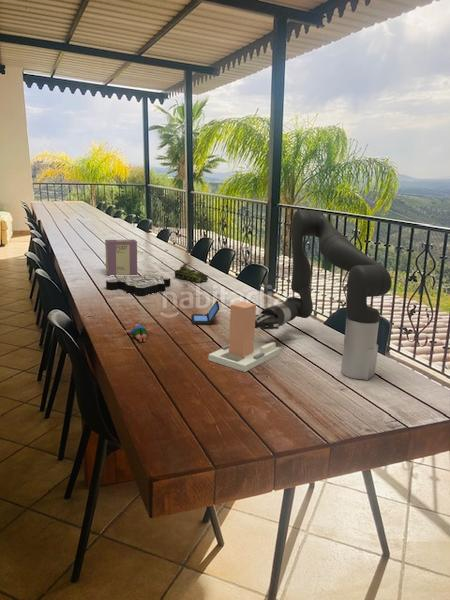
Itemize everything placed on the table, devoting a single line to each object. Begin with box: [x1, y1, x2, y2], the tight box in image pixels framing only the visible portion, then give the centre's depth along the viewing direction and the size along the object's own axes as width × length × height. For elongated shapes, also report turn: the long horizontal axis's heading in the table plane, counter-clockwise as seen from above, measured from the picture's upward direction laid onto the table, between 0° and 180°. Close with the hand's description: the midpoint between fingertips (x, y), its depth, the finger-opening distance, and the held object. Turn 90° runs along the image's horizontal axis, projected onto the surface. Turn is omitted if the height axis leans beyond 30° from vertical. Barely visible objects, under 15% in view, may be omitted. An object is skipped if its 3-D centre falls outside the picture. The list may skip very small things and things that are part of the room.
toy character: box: [120, 321, 156, 343], centre depth 166 cm, size 12×5×15 cm
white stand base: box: [208, 340, 282, 373], centre depth 150 cm, size 14×21×4 cm, turn 143°
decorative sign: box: [105, 274, 171, 297], centre depth 240 cm, size 28×4×30 cm
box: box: [104, 239, 138, 277], centre depth 269 cm, size 17×9×20 cm, turn 111°
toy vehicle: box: [174, 262, 209, 283], centre depth 264 cm, size 9×20×10 cm, turn 51°
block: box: [228, 301, 257, 358], centre depth 146 cm, size 6×6×16 cm
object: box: [191, 300, 221, 326], centre depth 187 cm, size 12×11×7 cm
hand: (247, 326), depth 148 cm, fingers closed
